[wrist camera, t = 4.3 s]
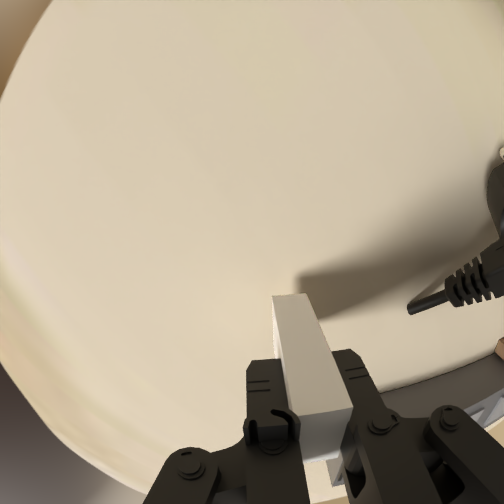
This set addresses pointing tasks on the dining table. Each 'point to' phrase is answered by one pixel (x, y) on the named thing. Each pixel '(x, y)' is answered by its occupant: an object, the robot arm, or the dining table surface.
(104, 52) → the dining table surface
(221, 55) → the dining table surface
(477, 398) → the power strip
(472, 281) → the power plug
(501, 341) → the bay
